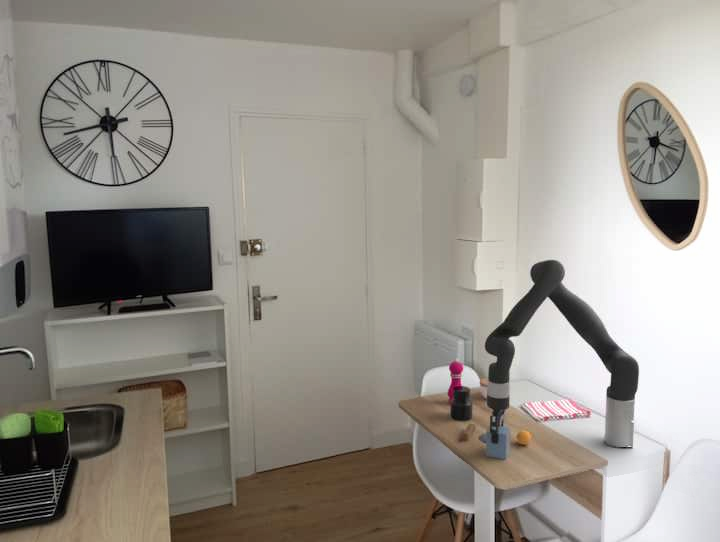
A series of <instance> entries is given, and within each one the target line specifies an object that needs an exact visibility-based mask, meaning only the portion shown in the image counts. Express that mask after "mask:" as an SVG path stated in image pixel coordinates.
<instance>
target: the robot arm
mask: <svg viewBox="0 0 720 542" xmlns="http://www.w3.org/2000/svg"><path fill="white" fill-rule="evenodd" d="M529 274H530V275H529V276H530V279H531V281H532V282H533V283H534V284H533V285H532V287H531V288H530V289H529V290H528V292H527V293H526V294H525V295H524V296H523V297H522V298H521V299H520V300H518V302H517V303H516V304H515V305H514V306H513V307H512V308H511V310H510V311H509V313H508V314H507V315H506V317H505V319H504V320H503V322H502V323H501V324H500V325H498V326H497V327H496V328H495V329H494V330H493V331H492V332H490V334H489V335H488V336H487V337H486V339H485V342H484V350H485V352H487V354H489V355H491V356H494V357H496V362H492V363H490V364H489V366H488V375H487V378H488V386H487V400H486V406H487V407H488V408H489V409H491V410H492V411H491V413H490V416H489V419H490V420H489V426H490V433H492V434H491V442H492V443H494V444H498V433H499V428H500V427H501V426H504V424H505V420H506V411H507V410H508V409H509V408H510V399H511V398H510V395H511V393H510V392H511V386H510V374H511V373H510V369H511V368H512V364H513V360H514V357H515V355H516V354H515V353H516V350H515V348H516V347H515V345H514V343H513V341H512V340H511V339H510V338H513V337H516V338H517V337H519V336H520V335H522V333H523V331H524V330H525V328H526V327H527V325H528V324H529V322H530V321H531V320H532V318H533V316H534V315H535V313H536V312H537V311H538V309H540V306H541V305H542V304H543V303H544V302H545V300H546V299H547V298H548V299H549V300H550V301H551V302H552V303H553V305H554V306H555V307H556V308H557V309H558V311H559V312H560V313H561V314H562V316H563V317H564V318H565V319H566V321H567V322H568V324H569V325H570V326H571V327H572V328H573V330H575V332H576V333H577V334H578V335H579V336H580V337H581V339H583V341H584V342H586V343H587V344H588V345H589V346H590V347H591V348H592V350H594V352H595V353H596V354H597V356H598V357H599V359H600V361H601V362H602V363H603V365H604V367H605V369H606V370H607V372H609V373H610V385H609V386H607V388H606V397H605V419H604V420H605V421H604V422H605V423H604V426H605V427H604V442H605V444H607V445H609V446H611V445H612V446H611V447H614V446H617V447H616V448H618V447H628V446H631V447H634V431H635V430H634V429H635V404H636V403H635V402H636V400H635V399H636V393H637V392H638V389H639V388H638V386H639V378H640V377H639V376H640V368H639V362H638V361H637V359H636V358H635V357H633V356H632V355H631V354H629V353H628V352H627V351H625V350H624V349H623V348H622V347H620V346H619V345H618V343H617V342H616V341H615V340H614V339H613V338H612V337H611V335H610V334H609V333H608V330H607V328H606V326H605V324H604V322H603V321H602V319H601V318H600V317H599V315H598V314H597V312H595V310H594V309H593V308H592V307H591V305H589V304H588V303H587V302H586V301H585V300H584V299H582V298H581V297H579V296H578V295H577V294H574V293H573V292H572V291H571V290H569V289H568V288H567V287H566V286H565V284H564V283H562V281H563V280H564V278H565V274H566V270H565V267H564V265H563V264H562V263H561V261H559V260H556V259H547V260H542V261H539V262H536V263H534V264H533V265H532V266H531V268H530V272H529ZM493 427H496V430H494V429H493Z"/></svg>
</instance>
